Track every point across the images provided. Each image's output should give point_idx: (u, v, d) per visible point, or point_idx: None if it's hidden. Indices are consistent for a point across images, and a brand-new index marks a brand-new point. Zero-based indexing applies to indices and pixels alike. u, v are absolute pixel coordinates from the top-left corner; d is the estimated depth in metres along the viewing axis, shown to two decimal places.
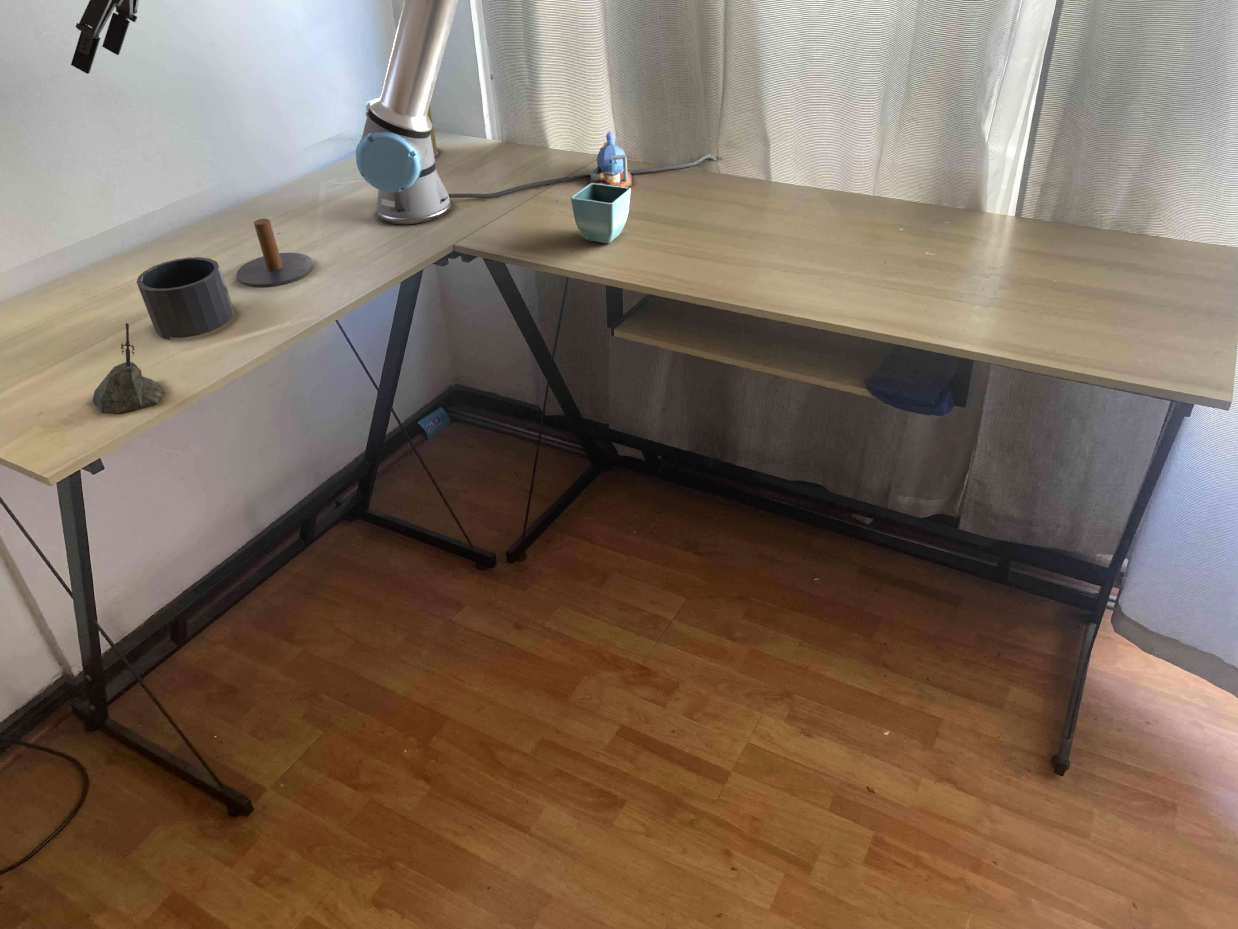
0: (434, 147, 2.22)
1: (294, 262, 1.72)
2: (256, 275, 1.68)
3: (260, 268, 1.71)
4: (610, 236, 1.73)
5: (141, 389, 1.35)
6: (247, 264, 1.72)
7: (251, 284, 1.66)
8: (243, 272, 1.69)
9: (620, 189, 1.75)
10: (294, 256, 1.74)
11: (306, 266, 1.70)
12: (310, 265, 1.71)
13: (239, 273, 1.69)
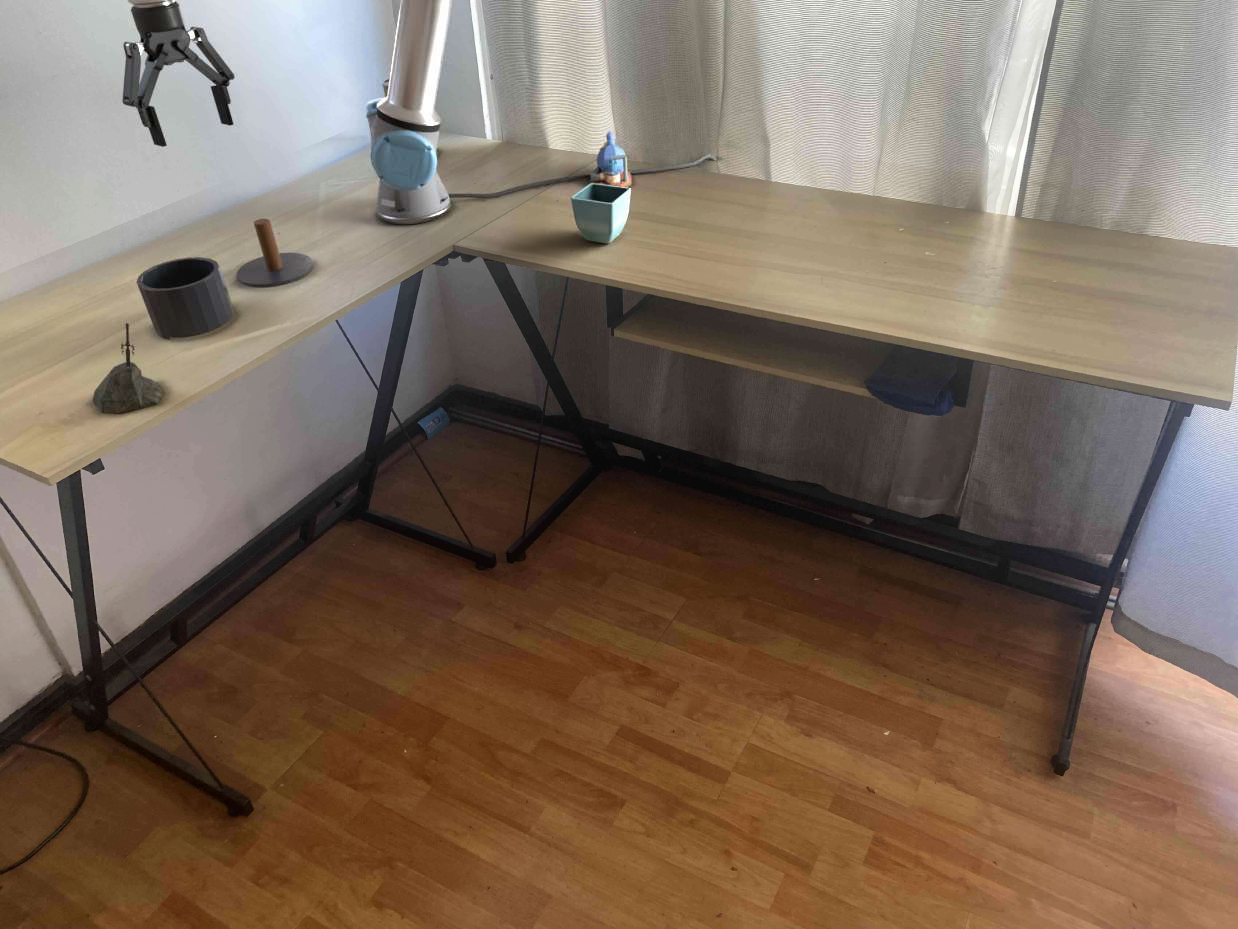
0: None
1: (294, 262, 1.72)
2: (256, 275, 1.68)
3: (260, 268, 1.71)
4: (610, 236, 1.73)
5: (141, 389, 1.35)
6: (247, 264, 1.72)
7: (251, 284, 1.66)
8: (243, 272, 1.69)
9: (620, 189, 1.75)
10: (294, 256, 1.74)
11: (306, 266, 1.70)
12: (310, 265, 1.71)
13: (239, 273, 1.69)
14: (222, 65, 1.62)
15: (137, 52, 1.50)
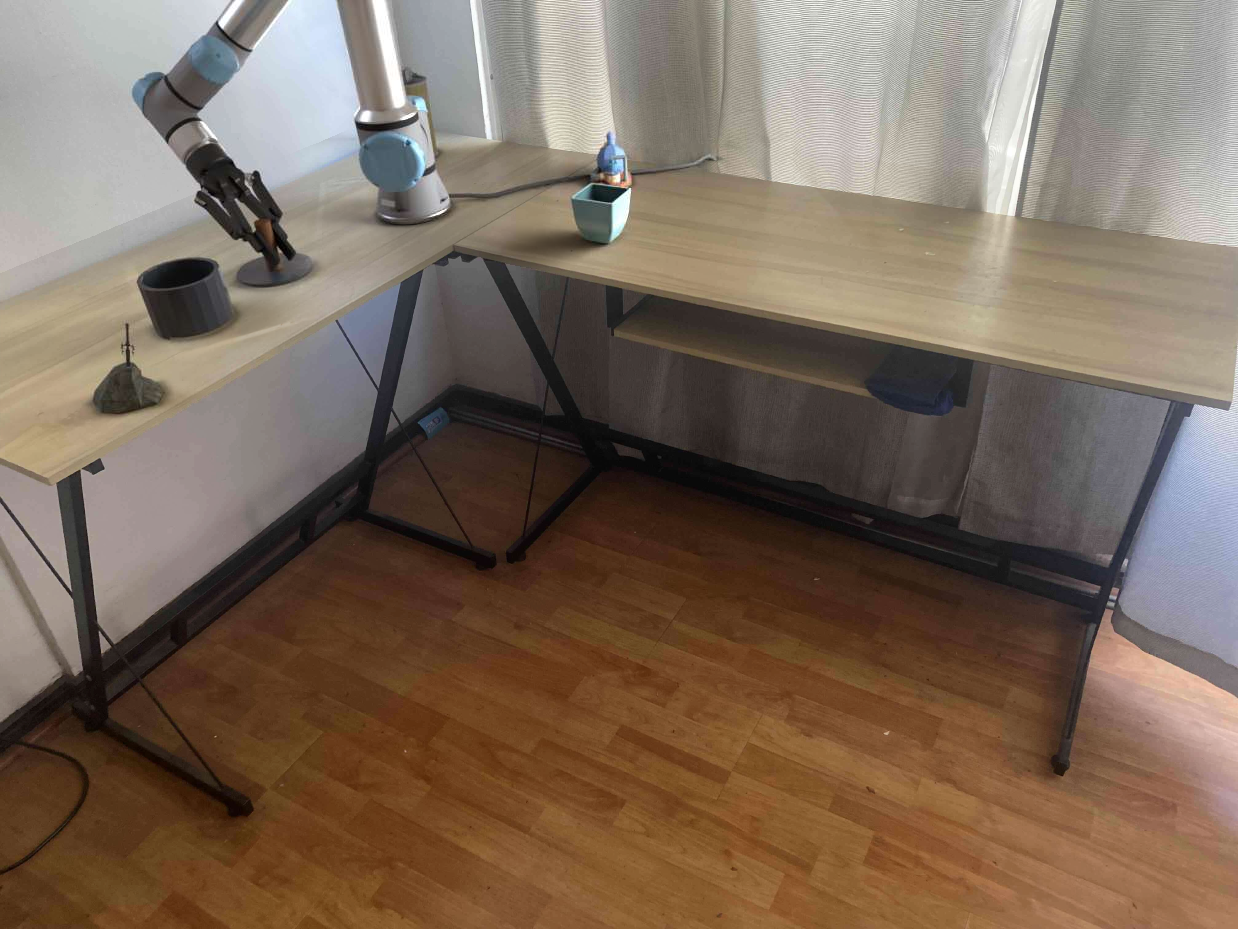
0: (434, 147, 2.22)
1: (294, 262, 1.72)
2: (256, 275, 1.68)
3: (260, 268, 1.71)
4: (610, 236, 1.73)
5: (141, 389, 1.35)
6: (247, 264, 1.72)
7: (251, 284, 1.66)
8: (243, 272, 1.69)
9: (620, 189, 1.75)
10: (294, 256, 1.74)
11: (306, 266, 1.70)
12: (310, 265, 1.71)
13: (239, 273, 1.69)
14: (271, 202, 1.68)
15: (205, 195, 1.62)
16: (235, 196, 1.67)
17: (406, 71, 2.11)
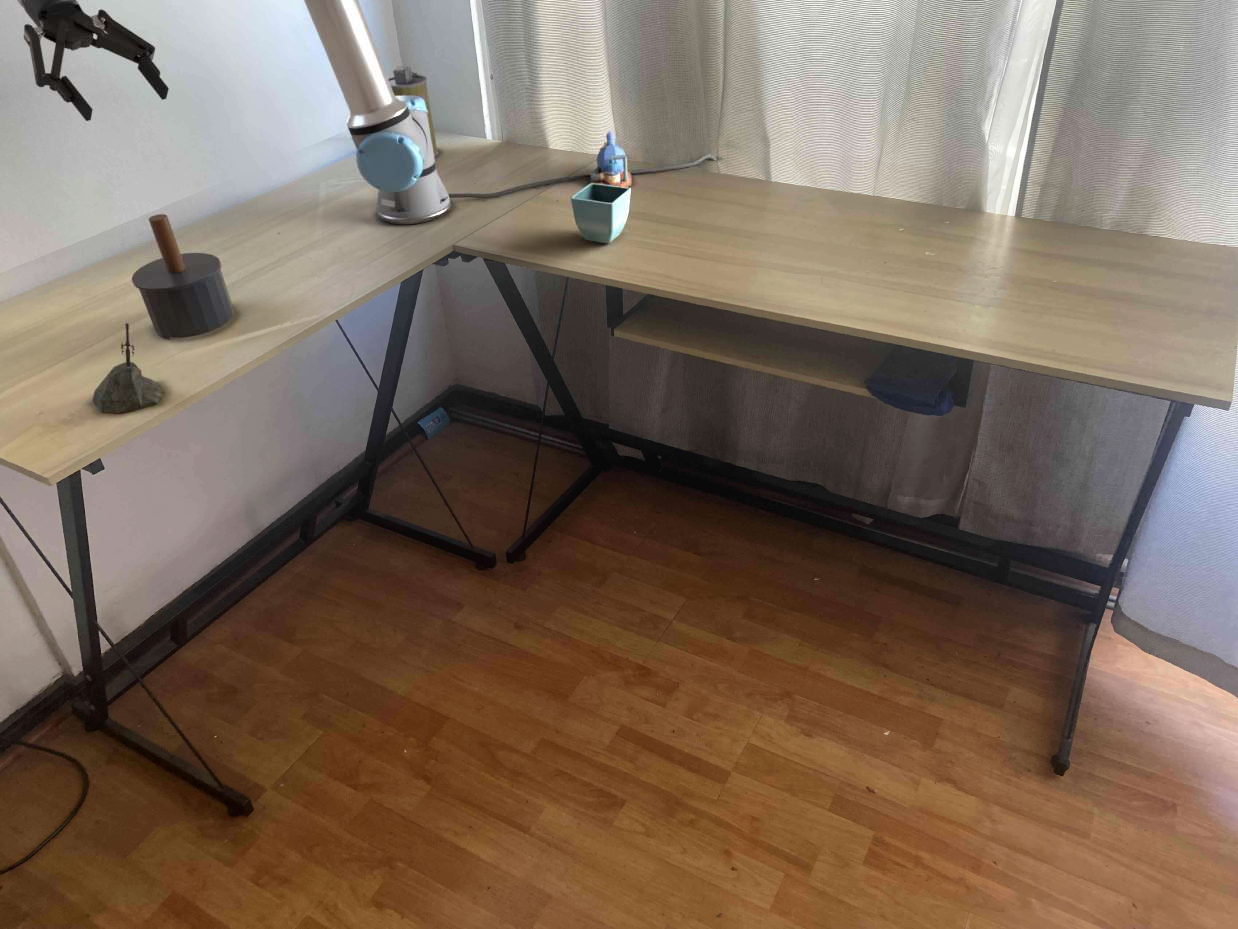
0: (434, 147, 2.22)
1: (199, 263, 1.53)
2: (154, 278, 1.49)
3: (160, 270, 1.51)
4: (610, 236, 1.73)
5: (141, 389, 1.35)
6: (146, 266, 1.53)
7: (146, 288, 1.46)
8: (139, 275, 1.50)
9: (620, 189, 1.75)
10: (201, 256, 1.55)
11: (212, 268, 1.51)
12: (216, 267, 1.51)
13: (135, 276, 1.50)
14: (137, 39, 1.55)
15: (33, 31, 1.45)
16: (82, 44, 1.51)
17: (406, 71, 2.11)
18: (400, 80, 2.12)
